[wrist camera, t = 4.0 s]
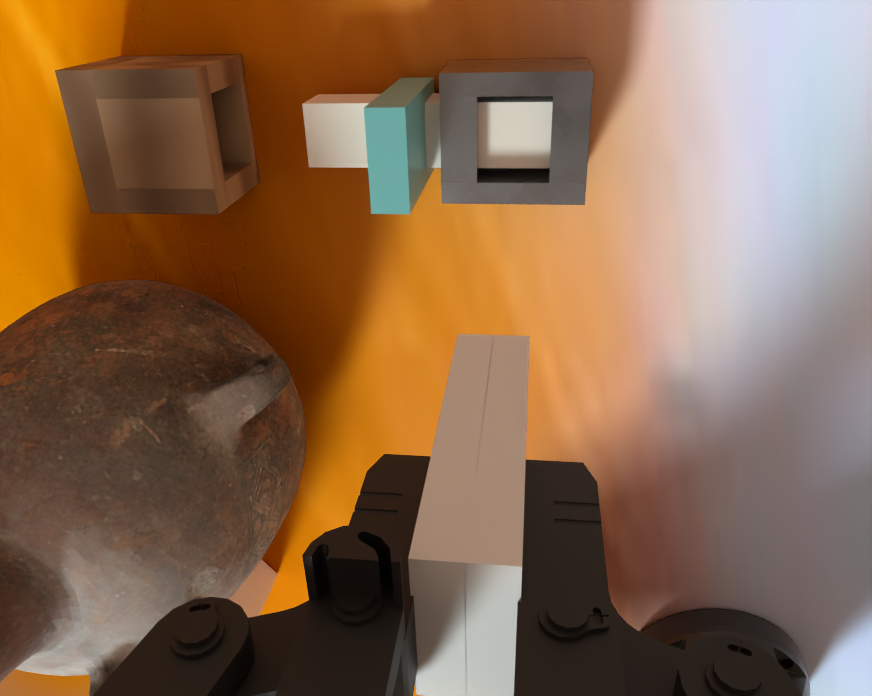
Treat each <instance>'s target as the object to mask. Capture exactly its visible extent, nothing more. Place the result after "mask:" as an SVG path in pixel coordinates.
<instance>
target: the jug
mask: <svg viewBox="0 0 872 696" xmlns="http://www.w3.org/2000/svg"><path fill="white" fill-rule="evenodd" d="M305 450H306V429H305V417H304V411H303V406H302V403H301V399H300V396H299V393H298V391H297V388H296V386H295V383H294V381H293V378H292V374H291V372H290V370H289V368H288V367H287V365H286V363H285V362H284V361H283V360H282V359H281V358H280V357H279V356H278V354H277V353H276V352H275V350H274V349H273V348H272V346H271V345H270V344H269V343H268V342H267V341H266V340H265V339H264V338H263V337H262V336H261V335H260V334H259V333H258V332H257V331H256V330H255V329H254V328H253V327H252V326H250V325H249V324H248V323H247V322H246V321H245V320H243V319H242V318H241V317H240V316H238V315H237V314H235V313H234V312H233V311H231V310H230V309H229V308H227V307H225V306H224V305H222V304H220V303H218V302H217V301H215V300H213V299H211V298H208V297H206V296H204V295H202V294H199V293H196V292H194V291H191V290H188V289H185V288H182V287H179V286H175V285H170V284H166V283H161V282H157V281H149V280H119V281H108V282H101V283H96V284H92V285H87V286H84V287H81V288H78V289H74V290H72V291H70V292H67V293H65V294H63V295H60V296H58V297H56V298H53V299H51V300H49V301H47V302H46V303H44V304H42V305H40V306H38V307H37V308H35V309H33V310H32V311H30V312H28V313H27V314H25V315H24V316H22V317H21V318H19V319H18V320H16V321H15V322H14V323H12V324H11V325H9V326H8V327H7V328H5V329H4V330H3V331H2V332H0V682H1V681H2V680H3V679H4V678H5V677H6V676H7V675H8V674H9V673H11V672H12V671H13V670H14V669H18V670H22V671H27V672H33V673H40V674H46V675H62V676H71V675H89V676H90V681H91V684H90V696H93V694H94V693H95V692H96V691H97V690H98V689H99V688H100V687H101V685H102V684H103V683H104V682H105V681H106V680H107V679H108V678H109V676H110V675H111V674H112V673H113V672H114V671H115V670H116V668H117V667H118V666H119V665H120V664H121V663H122V662H123V661H124V659H125V658H126V657H127V656H128V655H129V654H130V653H131V652H132V650H133V649H134V648H135V647H136V646H137V645H138V644H139V642H140V641H141V640H142V639H143V638H144V637H145V636H146V635H147V633H148V632H149V631H150V630H151V629H152V628H153V627H154V626H155V624H156V623H157V622H158V621H159V620H161V619H162V618H163V617H164V616H165V615H166V614H168V613H169V612H170V611H171V610H172V609H174V608H176V607H178V606H180V605H182V604H184V603H187V602H189V601H191V600H195V599H201V598H206V597H218V598H227V599H230V597H231V596H232V595H233V594H234V593H235V592H236V591H237V590H238V588H239V587H240V586H241V585H242V584H243V582H244V581H245V580H246V579H247V577H248V576H249V575H250V574H251V572H252V571H253V570H254V568H255V567H256V566H257V565H258V563H259V562H260V560H261V559H262V557H263V555H264V554H265V552H266V551H267V549H268V547H269V546H270V544H271V542H272V541H273V539H274V537H275V535H276V534H277V532H278V530H279V528H280V527H281V525H282V523H283V521H284V519H285V517H286V515H287V513H288V511H289V509H290V507H291V505H292V502H293V500H294V497H295V495H296V492H297V489H298V486H299V483H300V478H301V474H302V470H303V466H304V460H305Z"/></svg>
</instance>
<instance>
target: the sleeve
mask: <svg viewBox="0 0 872 696" xmlns="http://www.w3.org/2000/svg"><path fill="white" fill-rule="evenodd" d="M593 76H594V71H593V69H592V66H591V64H590V62H589V60H588V58H553V59H485V60H451V61H450V62H449V63H448V64H447V65H446V66H445V67H444V68H443V69H442V70H441V71H440V72H439V104H440V145H441V187H442V203H453V204H551V205H585V192H586V178H587V163H588V149H589V134H590V119H591V105H592V90H593ZM502 96H553V103H552V126H551V148H550V168H478V97H502Z"/></svg>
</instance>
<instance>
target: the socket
mask: <svg viewBox="0 0 872 696" xmlns="http://www.w3.org/2000/svg"><path fill="white" fill-rule="evenodd" d="M55 72H56V76H57V80H58V84H59V88H60V92H61V96H62V100H63V104H64V108H65V112H66V116H67V120H68V124H69V128H70V131H71V135H72V139H73V143H74V147H75V151H76V155H77V159H78V163H79V167H80V171H81V175H82V179H83V183H84V187H85V191H86V195H87V199H88V203H89V207H90V211H91V213H143V214H220V213H221V212H223V211H224V210H225V209H227V208H228V207H229V206H230V205H232V204H233V203H234V202H236V201H237V200H238V199H239V198H241V197H242V196H243V195H245V194H246V193H247V192H249V191H250V190H251V189H252V188H254V187H255V186H256V185H258V184H259V183H260V182H259V175H258V168H257V161H256V153H255V146H254V139H253V132H252V125H251V118H250V111H249V104H248V96H247V89H246V82H245V75H244V68H243V61H242V54H235V55H174V56H119V57H115V58H110V59H106V60H101V61H97V62H92V63H87V64H83V65H78V66H74V67H69V68H65V69H60V70H55Z"/></svg>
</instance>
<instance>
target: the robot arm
mask: <svg viewBox="0 0 872 696" xmlns="http://www.w3.org/2000/svg"><path fill="white" fill-rule="evenodd" d="M529 337H530V336H505V335H474V334H458V336H457V340H456V345H455V350H454V354H453V359H452V363H451V368H450V372H449V377H448V381H447V386H446V390H445V395H444V399H443V404H442V408H441V413H440V417H439V422H438V426H437V431H436V435H435V440H434V444H433V449H432V453H431V457H430V456H411V455H392V454H384V455H383V456H382V457H381V458H380V459H379V460H378V461H377V462H376V463H375V464H374V465H373V466H372V467H371V468H370V469H369V470H368V471H367V473H366V476H365V479H364V482H363V485H362V488H361V491H360V495H359V497H358V500H357V503H356V506H355V512H353V514H352V517H351V520H350V523H349V526H342V527H339V528H336V529H333V530H330V531H328V532H325V533H324V534H322V535H321V536H320V537H318V538H317V539H315V540H314V541H313V542H311V544H310V545H309V547H308V548H307V549H306V551H305V552H304V554H303V555H302V556H303V562H304V569H305V575H306V582H307V588H308V595H309V601H307V602H305V603H303V604H301V605H299V606H297V607H295V608H291V609H288V610H284V611H281V612H276V613H270V614H265V615H260V616H255V617H249V618H248V617H247V615H246V613H245V612H244V610H243V608H242V607H241V606H240V605H238V604H237V603H235V602H233V601H231V600H229V599H227V598H218V597H206V598H201V599H195V600H191V601H189V602H187V603H184V604H182V605H180V606H178V607H176V608H174V609H172V610H171V611H170V612H169V613H168V614H166V615H165V616H164V617H163V618H162V619H161V620H159V621H158V622H157V623H156V624H155V626H154V627H153V628H152V629H151V630H150V631H149V632H148V633H147V635H146V636H145V637H144V638H143V639H142V640H141V641H140V642H139V644H138V645H137V646H136V647H135V648H134V649H133V650H132V652H131V653H130V654H129V655H128V656H127V657H126V658H125V659H124V661H123V662H122V663H121V664H120V665H119V666H118V667H117V668H116V670H115V671H114V672H113V673H112V674H111V675H110V676H109V678H108V679H107V680H106V681H105V682H104V683H103V684H102V685H101V687H100V688H99V689H98V690H97V691H96V692H95V693H94V694H93V696H413V691H414V685H415V680H416V692H417V695H424V696H810V683H809V678H808V674H807V671H806V668H805V666H804V663H803V660H802V658H801V655H800V652H799V650H798V648H797V647H796V645H795V643H794V642H793V641H792V639H791V638H790V637H789V636H788V635H787V634H786V633H785V632H783V631H782V630H781V629H780V628H778V627H777V626H775V625H773V624H772V623H770V622H768V621H766V620H764V619H761V618H759V617H756V616H753V615H750V614H746V613H742V612H738V611H731V610H720V609H706V610H695V611H689V612H684V613H680V614H676V615H673V616H670V617H667V618H665V619H662V620H660V621H658V622H656V623H654V624H653V625H651V626H649V627H648V628H646V629H645V630H644V631H642V632H641V633H640V632H639V631H637V630H636V629H634V628H633V627H631V626H630V625H629V624H627V623H626V621H625V620H624V619H623V618H622V617H621V616H620V615H619V614H618V613H617V611H616V609H615V608H614V606H613V604H612V603H611V599H610V595H609V592H608V583H607V573H606V564H605V554H604V545H603V535H602V526H601V516H600V508H599V497H598V488H597V482H596V480H595V479H594V477H593V476H592V475H591V473H590V472H589V471H588V469H587V468H586V466H585V465H584V464H583V463H578V462H560V461H541V460H526V432H527V400H528V369H529Z"/></svg>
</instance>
